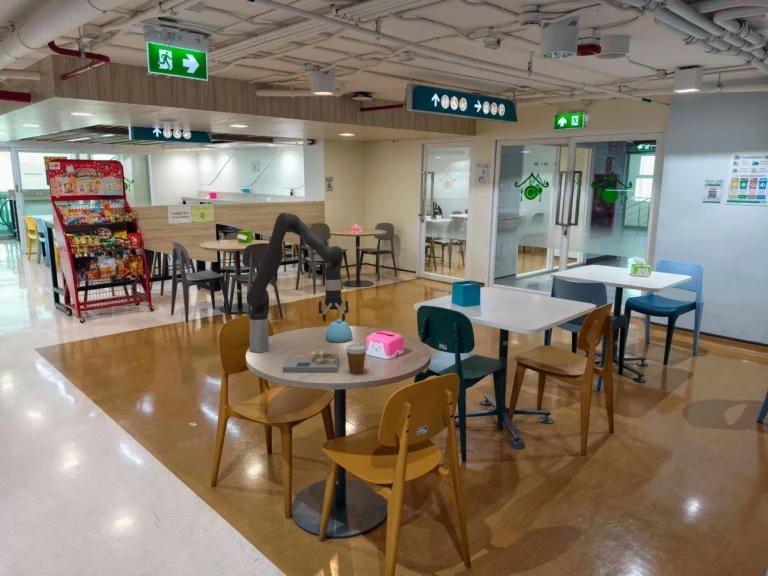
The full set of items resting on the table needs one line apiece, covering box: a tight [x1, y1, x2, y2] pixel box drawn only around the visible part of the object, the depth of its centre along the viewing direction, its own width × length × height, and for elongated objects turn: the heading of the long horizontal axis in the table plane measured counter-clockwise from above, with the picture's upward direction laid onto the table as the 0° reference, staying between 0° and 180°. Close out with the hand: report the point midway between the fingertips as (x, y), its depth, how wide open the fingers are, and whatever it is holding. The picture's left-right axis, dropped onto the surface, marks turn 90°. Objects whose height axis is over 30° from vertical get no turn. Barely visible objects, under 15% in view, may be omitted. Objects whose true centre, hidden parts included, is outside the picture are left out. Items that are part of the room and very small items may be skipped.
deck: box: [282, 356, 340, 374], centre depth 267 cm, size 25×15×2 cm, turn 90°
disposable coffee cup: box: [345, 344, 368, 375], centre depth 260 cm, size 10×10×12 cm
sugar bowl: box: [325, 318, 353, 344], centre depth 314 cm, size 15×15×12 cm
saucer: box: [287, 352, 309, 358], centre depth 282 cm, size 10×10×1 cm
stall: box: [315, 353, 339, 364], centre depth 269 cm, size 10×10×2 cm
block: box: [311, 350, 324, 362], centre depth 269 cm, size 5×5×4 cm
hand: (333, 321), depth 271 cm, fingers open, 8 cm apart
